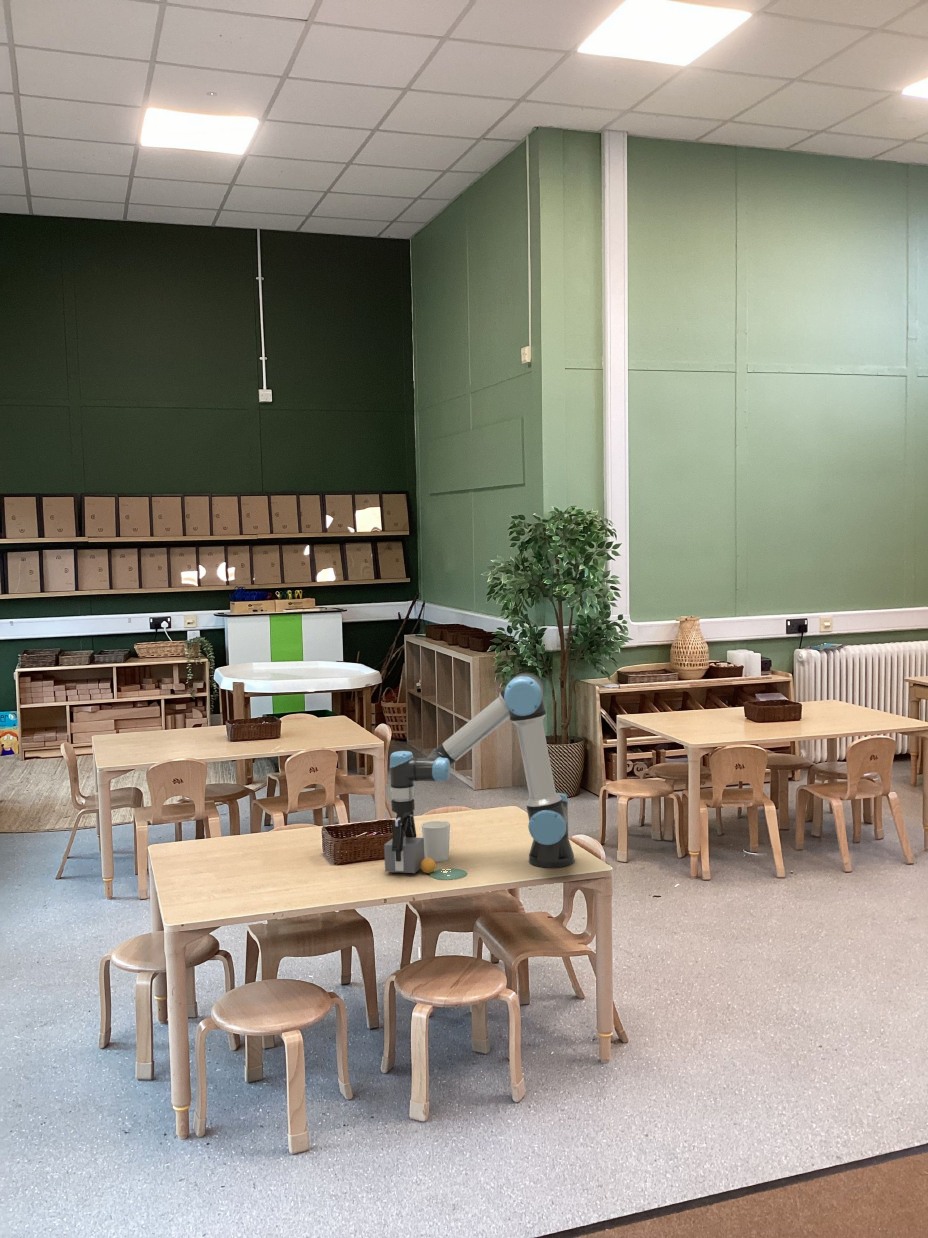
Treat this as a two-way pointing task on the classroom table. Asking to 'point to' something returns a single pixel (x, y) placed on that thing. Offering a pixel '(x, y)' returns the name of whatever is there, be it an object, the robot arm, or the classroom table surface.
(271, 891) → the classroom table surface
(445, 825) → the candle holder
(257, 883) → the classroom table surface
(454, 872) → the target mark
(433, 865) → the ball
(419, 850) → the grey matte cube
